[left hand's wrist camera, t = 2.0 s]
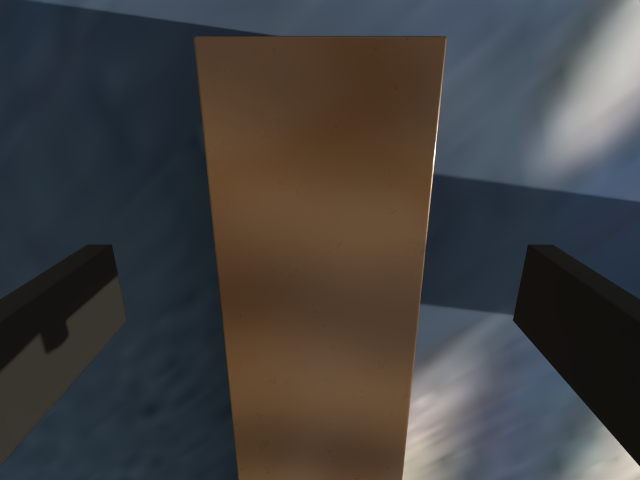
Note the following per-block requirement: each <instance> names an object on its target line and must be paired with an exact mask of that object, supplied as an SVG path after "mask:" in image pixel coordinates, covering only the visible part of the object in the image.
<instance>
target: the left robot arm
mask: <svg viewBox="0 0 640 480" xmlns="http://www.w3.org/2000/svg"><path fill="white" fill-rule="evenodd" d="M126 321H127V318H126V313H125V308H124V303H123V298H122V293H121V288H120V283H119V278H118V273H117V268H116V263H115V258H114V253H113V248H112V245H86V246H85V247H83V248H82V249H80V250H78V251H77V252H75V253H74V254H72V255H70V256H69V257H67V258H66V259H64V260H62V261H61V262H59V263H58V264H56V265H54V266H53V267H51V268H50V269H48V270H47V271H45V272H43V273H42V274H40V275H39V276H37V277H35V278H34V279H32V280H31V281H29V282H27V283H26V284H24V285H23V286H21V287H19V288H18V289H16V290H15V291H13V292H11V293H10V294H8V295H7V296H5V297H4V298H2V299H0V466H1V465H2V464H3V462H4V461H5V460H6V459H7V458H8V457H9V455H10V454H11V453H12V452H13V451H14V450H15V449H16V447H17V446H18V445H19V444H20V443H21V442H22V441H23V439H24V438H25V437H26V436H27V435H28V434H29V433H30V431H31V430H32V429H33V428H34V427H35V426H36V424H37V423H38V422H39V421H40V420H41V419H42V418H43V416H44V415H45V414H46V413H47V412H48V411H49V410H50V408H51V407H52V406H53V405H54V404H55V403H56V401H57V400H58V399H59V398H60V397H61V396H62V395H63V393H64V392H65V391H66V390H67V389H68V388H69V387H70V385H71V384H72V383H73V382H74V381H75V380H76V379H77V377H78V376H79V375H80V374H81V373H82V372H83V370H84V369H85V368H86V367H87V366H88V365H89V364H90V362H91V361H92V360H93V359H94V358H95V357H96V356H97V354H98V353H99V352H100V351H101V350H102V349H103V347H104V346H105V345H106V344H107V343H108V342H109V341H110V339H111V338H112V337H113V336H114V335H115V334H116V333H117V331H118V330H119V329H120V328H121V327H122V326H123V325H124V323H125V322H126ZM513 321H514V322H515V323H516V325H517V326H518V327H519V328H520V329H521V330H522V331H523V333H524V334H525V335H526V336H527V337H528V338H529V339H530V341H531V342H532V343H533V344H534V345H535V346H536V347H537V349H538V350H539V351H540V352H541V353H542V354H543V356H544V357H545V358H546V359H547V360H548V361H549V362H550V364H551V365H552V366H553V367H554V368H555V369H556V370H557V372H558V373H559V374H560V375H561V376H562V377H563V379H564V380H565V381H566V382H567V383H568V384H569V385H570V387H571V388H572V389H573V390H574V391H575V392H576V393H577V395H578V396H579V397H580V398H581V399H582V400H583V401H584V403H585V404H586V405H587V406H588V407H589V408H590V410H591V411H592V412H593V413H594V414H595V415H596V416H597V418H598V419H599V420H600V421H601V422H602V423H603V424H604V426H605V427H606V428H607V429H608V430H609V431H610V433H611V434H612V435H613V436H614V437H615V438H616V439H617V441H618V442H619V443H620V444H621V445H622V446H623V447H624V449H625V450H626V451H627V452H628V453H629V454H630V455H631V457H632V458H633V459H634V460H635V461H636V462H637V464H638V465H639V466H640V299H638V298H636V297H635V296H633V295H632V294H630V293H629V292H627V291H625V290H624V289H622V288H621V287H619V286H617V285H616V284H614V283H613V282H611V281H609V280H608V279H606V278H605V277H603V276H601V275H600V274H598V273H597V272H595V271H593V270H592V269H590V268H589V267H587V266H586V265H584V264H582V263H581V262H579V261H578V260H576V259H574V258H573V257H571V256H570V255H568V254H566V253H565V252H563V251H562V250H560V249H558V248H557V247H555V246H554V245H528V248H527V253H526V258H525V263H524V268H523V273H522V278H521V283H520V288H519V293H518V298H517V303H516V308H515V313H514V318H513Z"/></svg>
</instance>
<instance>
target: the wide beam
mask: <svg viewBox="0 0 640 480" xmlns="http://www.w3.org/2000/svg"><path fill="white" fill-rule="evenodd" d="M446 45H447V37H445V36H195V37H194V47H195V57H196V67H197V77H198V87H199V96H200V106H201V116H202V126H203V136H204V146H205V156H206V165H207V175H208V185H209V195H210V205H211V215H212V225H213V234H214V244H215V254H216V264H217V274H218V284H219V293H220V303H221V313H222V323H223V333H224V343H225V353H226V362H227V372H228V382H229V392H230V402H231V412H232V422H233V431H234V441H235V451H236V461H237V471H238V480H402V476H403V466H404V456H405V446H406V437H407V427H408V417H409V407H410V397H411V388H412V378H413V368H414V358H415V348H416V339H417V329H418V319H419V309H420V299H421V290H422V280H423V270H424V260H425V250H426V241H427V231H428V221H429V211H430V201H431V192H432V182H433V172H434V162H435V152H436V143H437V133H438V123H439V113H440V103H441V94H442V84H443V74H444V64H445V54H446Z"/></svg>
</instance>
